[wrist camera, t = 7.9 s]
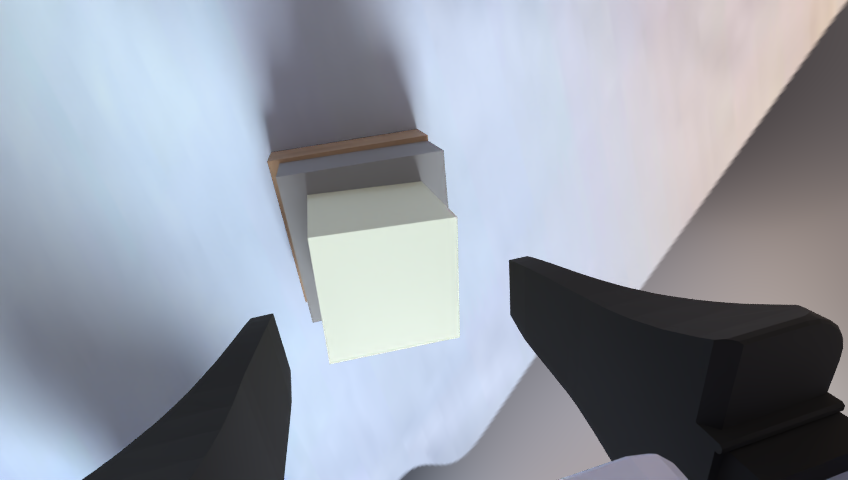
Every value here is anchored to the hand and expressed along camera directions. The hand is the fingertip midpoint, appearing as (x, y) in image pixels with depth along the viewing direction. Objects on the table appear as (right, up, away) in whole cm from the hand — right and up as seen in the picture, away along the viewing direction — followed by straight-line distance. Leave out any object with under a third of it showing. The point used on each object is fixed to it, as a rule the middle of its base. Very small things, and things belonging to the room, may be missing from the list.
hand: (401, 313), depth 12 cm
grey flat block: (-2, +3, +7) cm, 8 cm away
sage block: (-1, +2, +5) cm, 6 cm away
